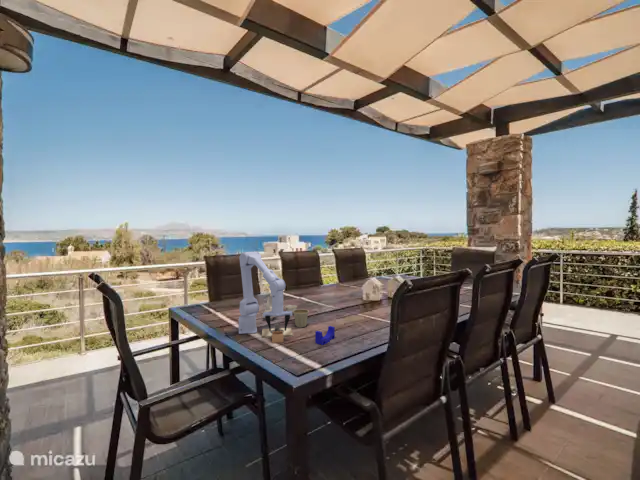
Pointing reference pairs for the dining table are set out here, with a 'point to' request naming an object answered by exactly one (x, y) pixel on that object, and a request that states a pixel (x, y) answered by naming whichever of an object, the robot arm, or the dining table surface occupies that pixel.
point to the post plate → (277, 330)
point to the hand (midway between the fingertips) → (277, 330)
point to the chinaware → (269, 307)
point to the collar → (277, 336)
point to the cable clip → (323, 340)
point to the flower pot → (301, 317)
